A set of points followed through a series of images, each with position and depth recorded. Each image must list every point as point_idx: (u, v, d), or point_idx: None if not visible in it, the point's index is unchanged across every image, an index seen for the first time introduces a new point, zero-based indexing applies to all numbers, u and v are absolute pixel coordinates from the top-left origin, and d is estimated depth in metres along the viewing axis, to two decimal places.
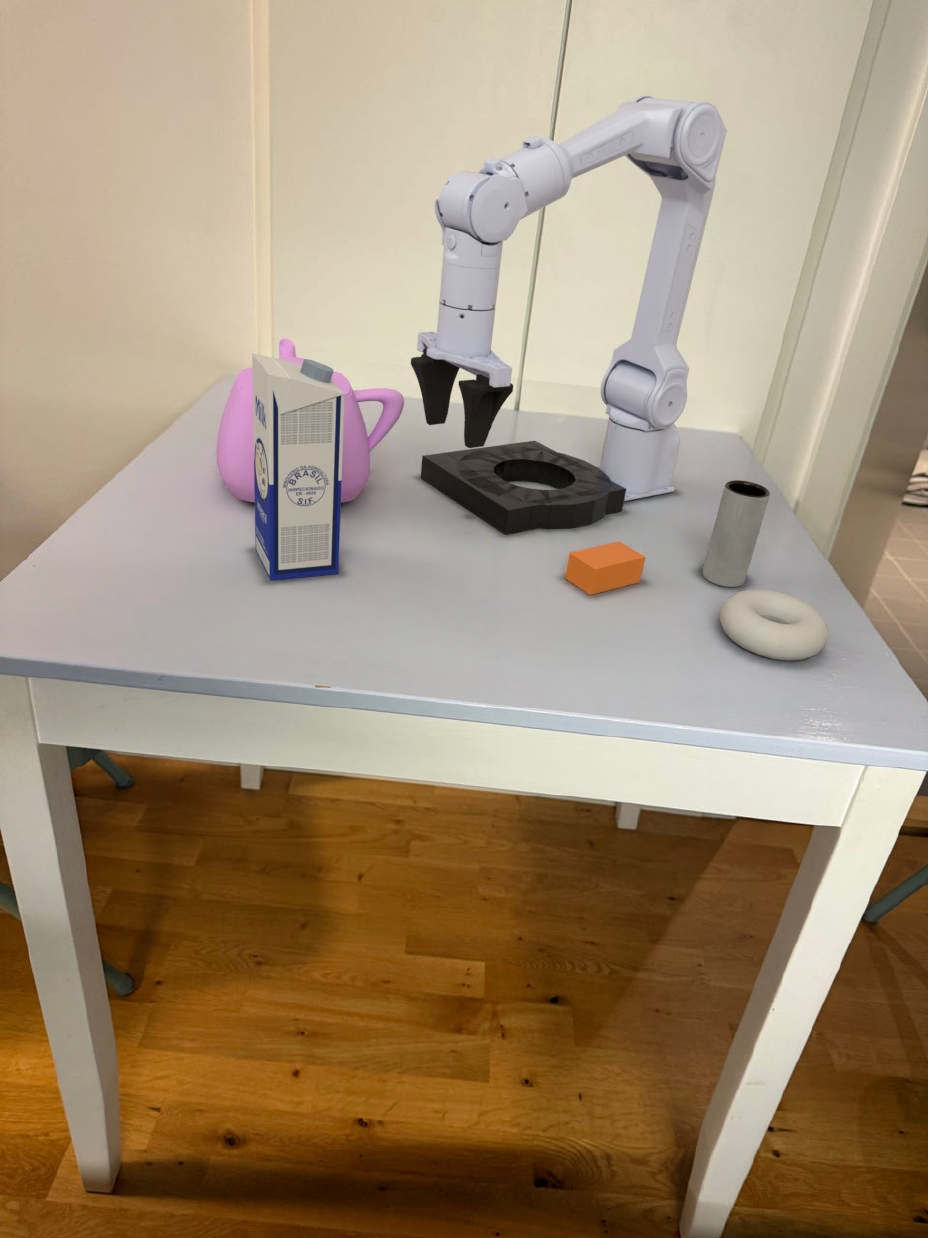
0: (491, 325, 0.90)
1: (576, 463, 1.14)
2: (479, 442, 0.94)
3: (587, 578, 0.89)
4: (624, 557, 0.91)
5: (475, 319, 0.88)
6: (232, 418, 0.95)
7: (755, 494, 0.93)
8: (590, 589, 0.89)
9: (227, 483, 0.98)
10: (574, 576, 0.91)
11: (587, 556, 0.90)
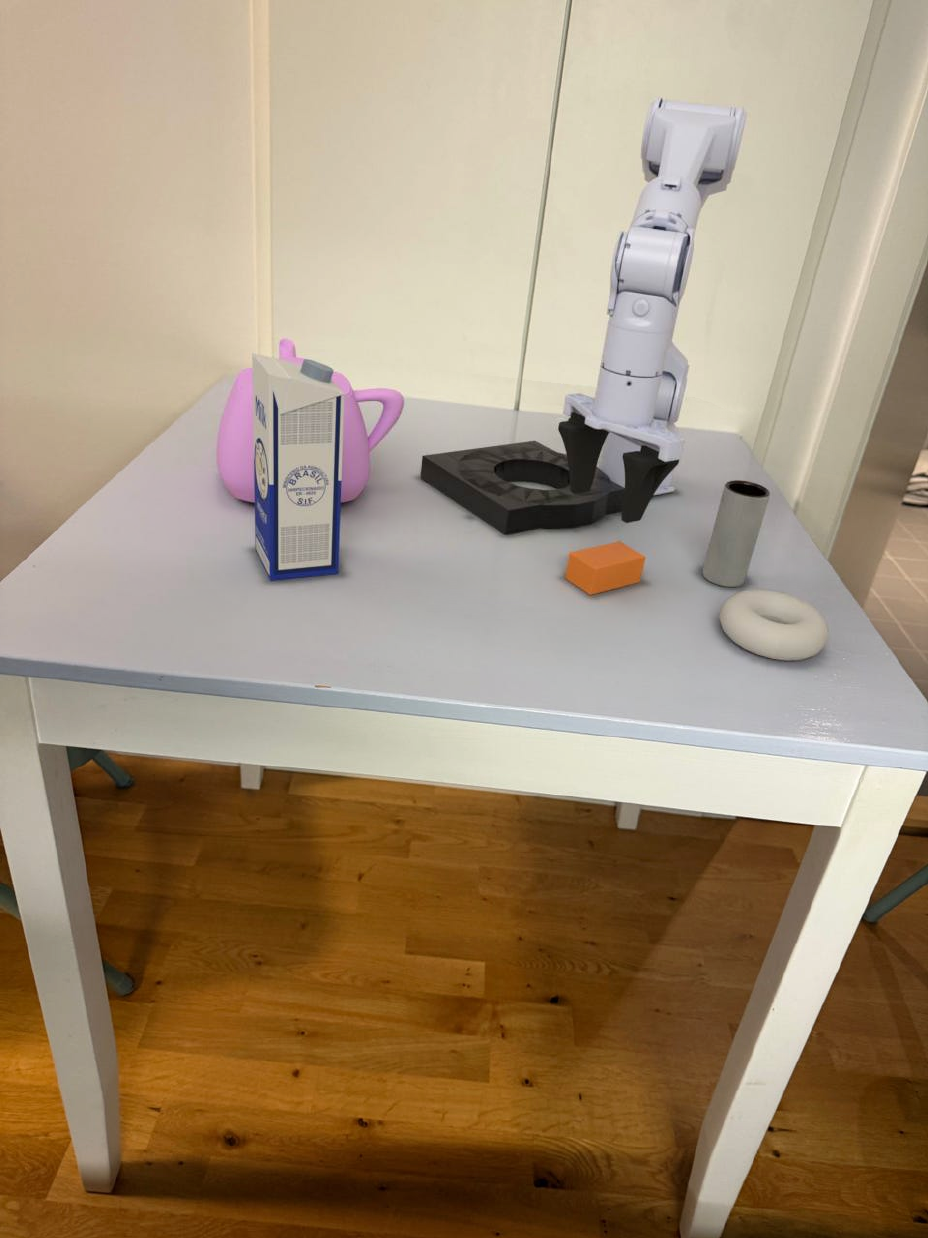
0: (657, 392, 0.82)
1: None
2: (637, 516, 0.86)
3: (587, 578, 0.89)
4: (624, 557, 0.91)
5: (643, 387, 0.81)
6: (232, 418, 0.95)
7: (755, 494, 0.93)
8: (590, 589, 0.89)
9: (227, 483, 0.98)
10: (574, 576, 0.91)
11: (587, 556, 0.90)
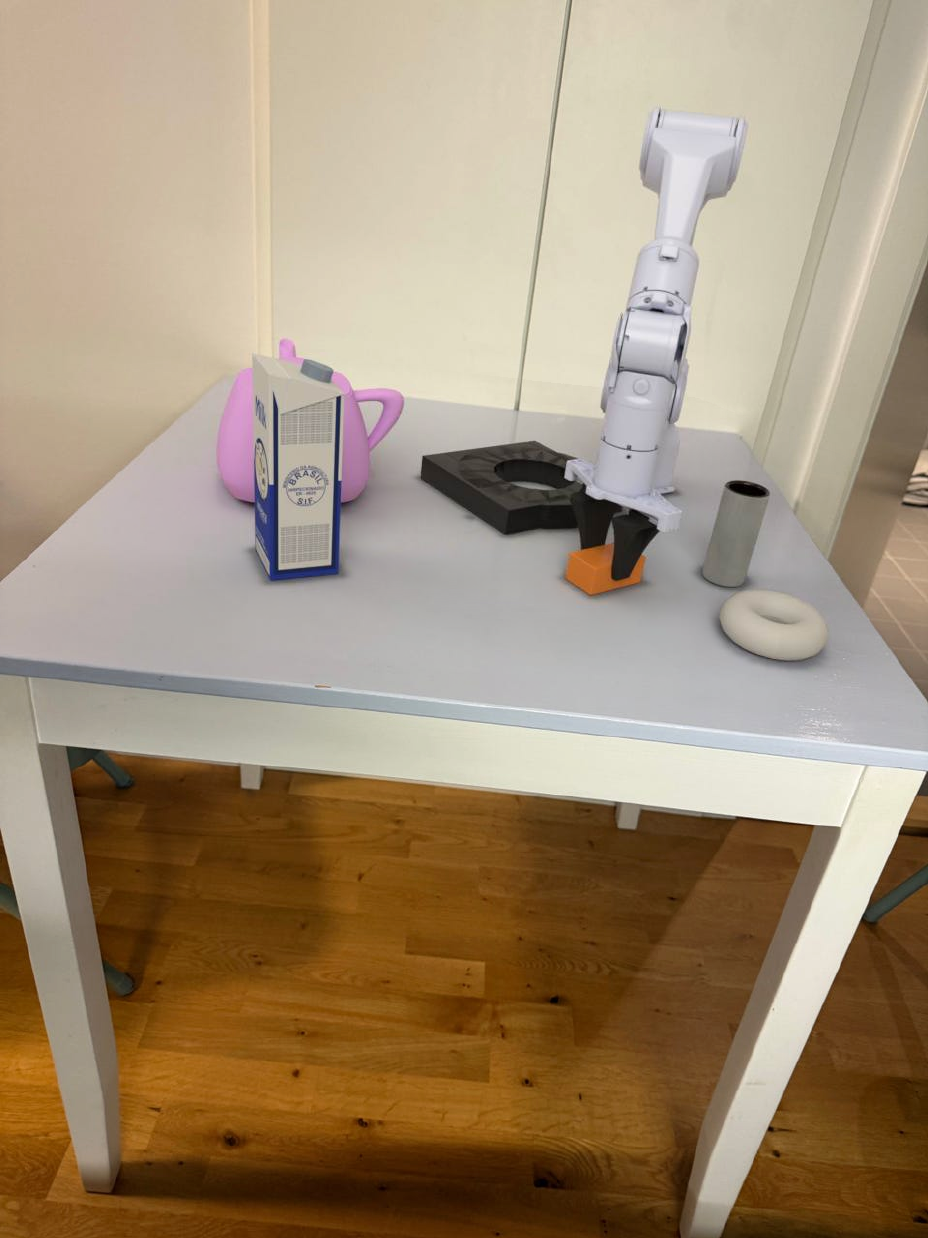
0: (656, 463, 0.85)
1: None
2: (625, 574, 0.90)
3: (588, 578, 0.89)
4: None
5: (642, 460, 0.83)
6: (232, 418, 0.95)
7: (755, 494, 0.93)
8: (590, 589, 0.89)
9: (227, 483, 0.98)
10: (574, 576, 0.91)
11: (587, 556, 0.90)
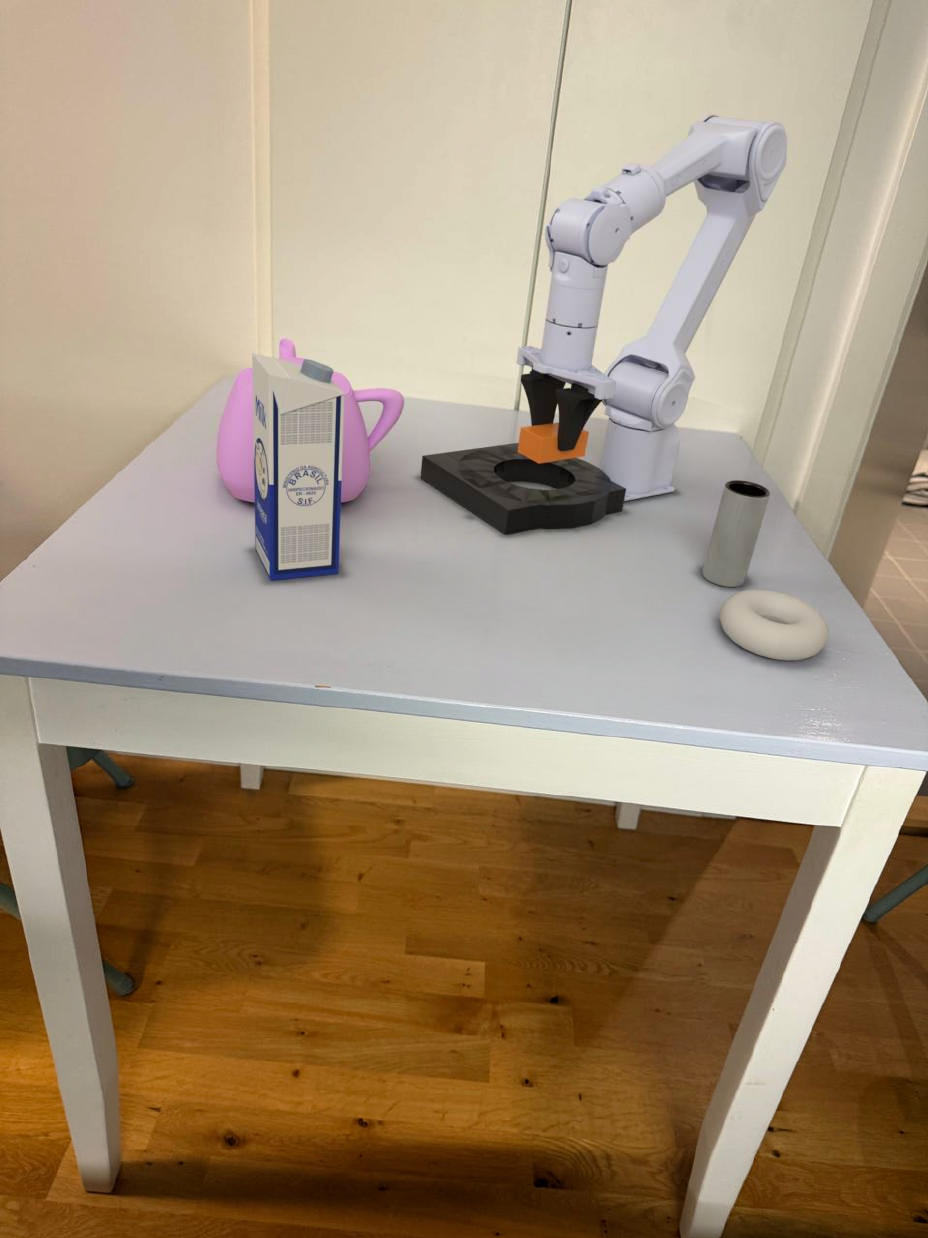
0: (594, 341, 0.97)
1: (576, 463, 1.14)
2: (570, 445, 1.02)
3: (536, 448, 1.01)
4: None
5: (581, 336, 0.95)
6: (232, 418, 0.95)
7: (755, 494, 0.93)
8: (539, 458, 1.01)
9: (227, 483, 0.98)
10: (525, 448, 1.02)
11: (536, 430, 1.02)
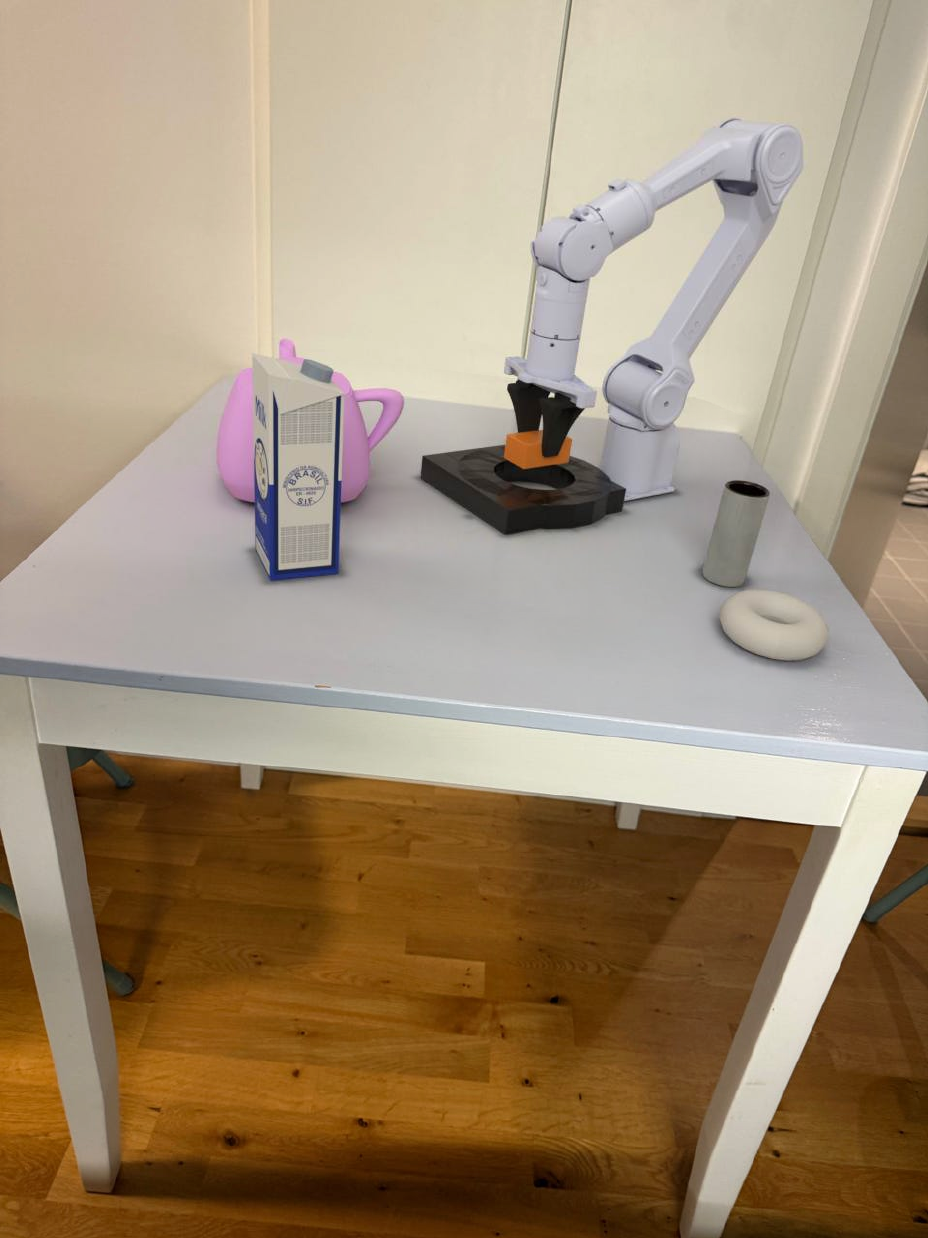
0: (576, 352, 1.01)
1: (576, 463, 1.14)
2: (554, 452, 1.06)
3: (521, 454, 1.05)
4: None
5: (564, 347, 0.99)
6: (232, 418, 0.95)
7: (755, 494, 0.93)
8: (523, 463, 1.05)
9: (227, 483, 0.98)
10: (511, 454, 1.07)
11: (521, 437, 1.06)
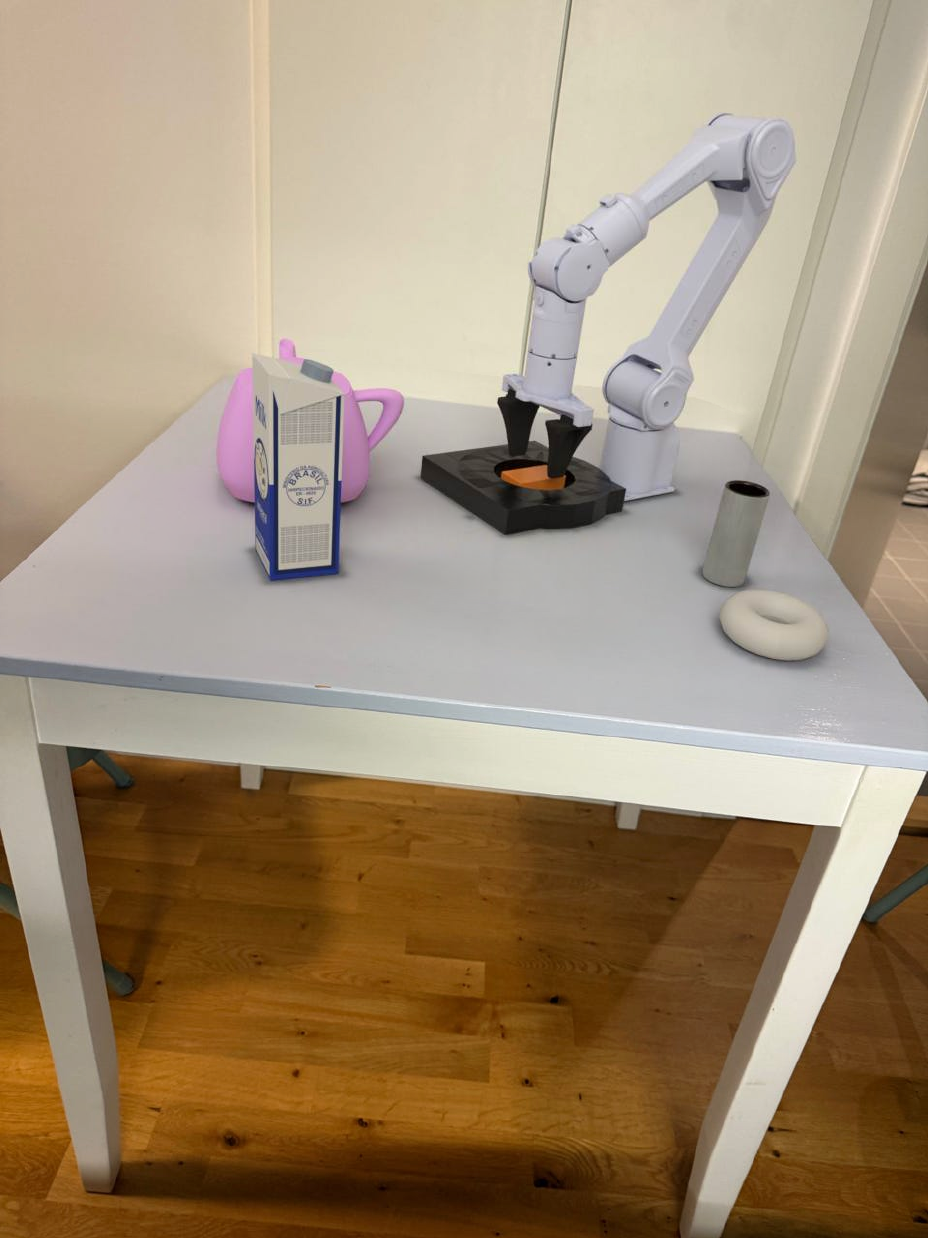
0: (573, 371, 1.02)
1: (576, 463, 1.14)
2: (560, 473, 1.06)
3: None
4: (547, 476, 1.09)
5: (561, 366, 1.00)
6: (232, 418, 0.95)
7: (755, 494, 0.93)
8: None
9: (227, 483, 0.98)
10: None
11: (516, 474, 1.08)
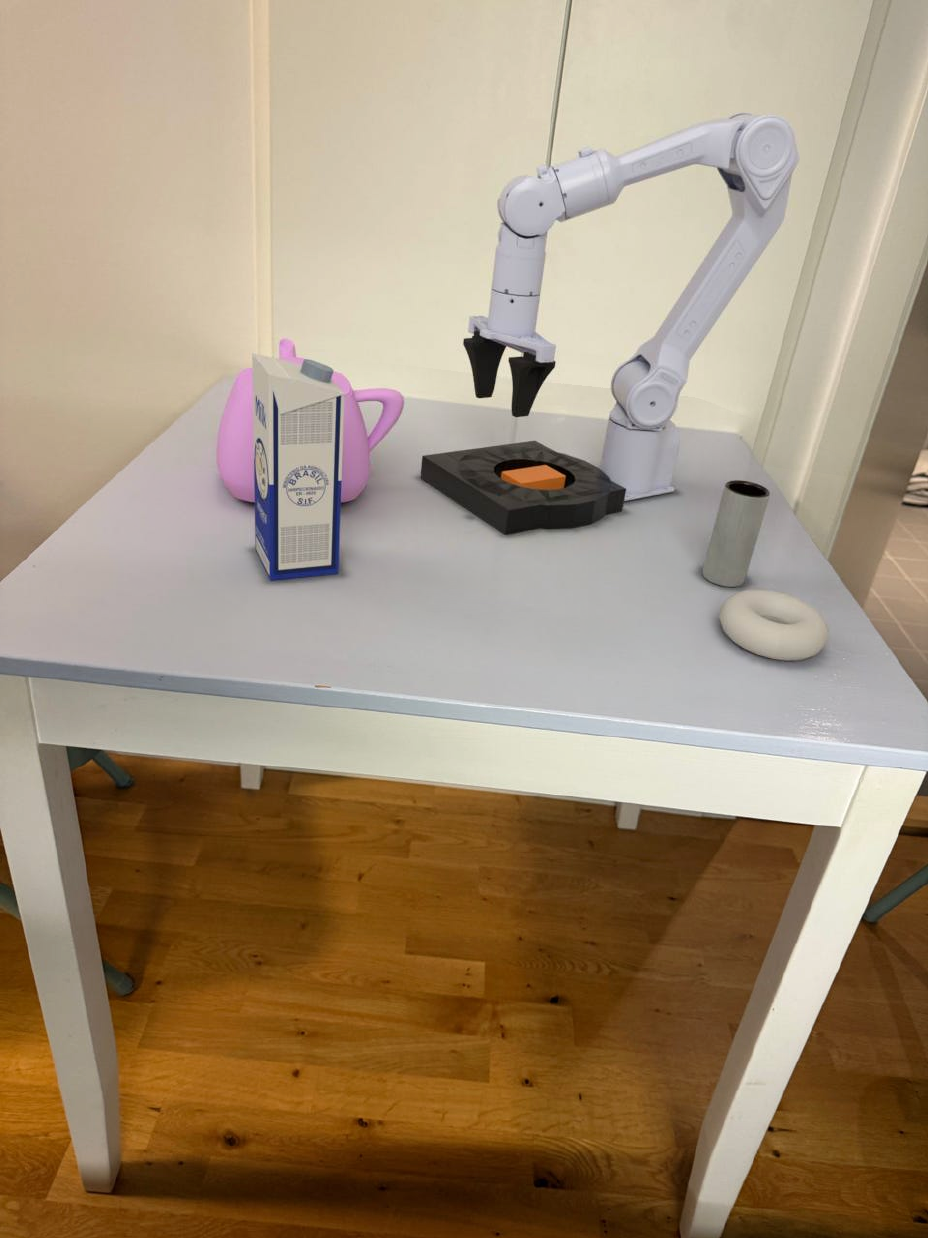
0: (536, 309, 1.03)
1: (576, 463, 1.14)
2: (524, 412, 1.07)
3: None
4: (547, 476, 1.09)
5: (523, 303, 1.02)
6: (232, 418, 0.95)
7: (755, 494, 0.93)
8: None
9: (227, 483, 0.98)
10: None
11: (516, 474, 1.08)
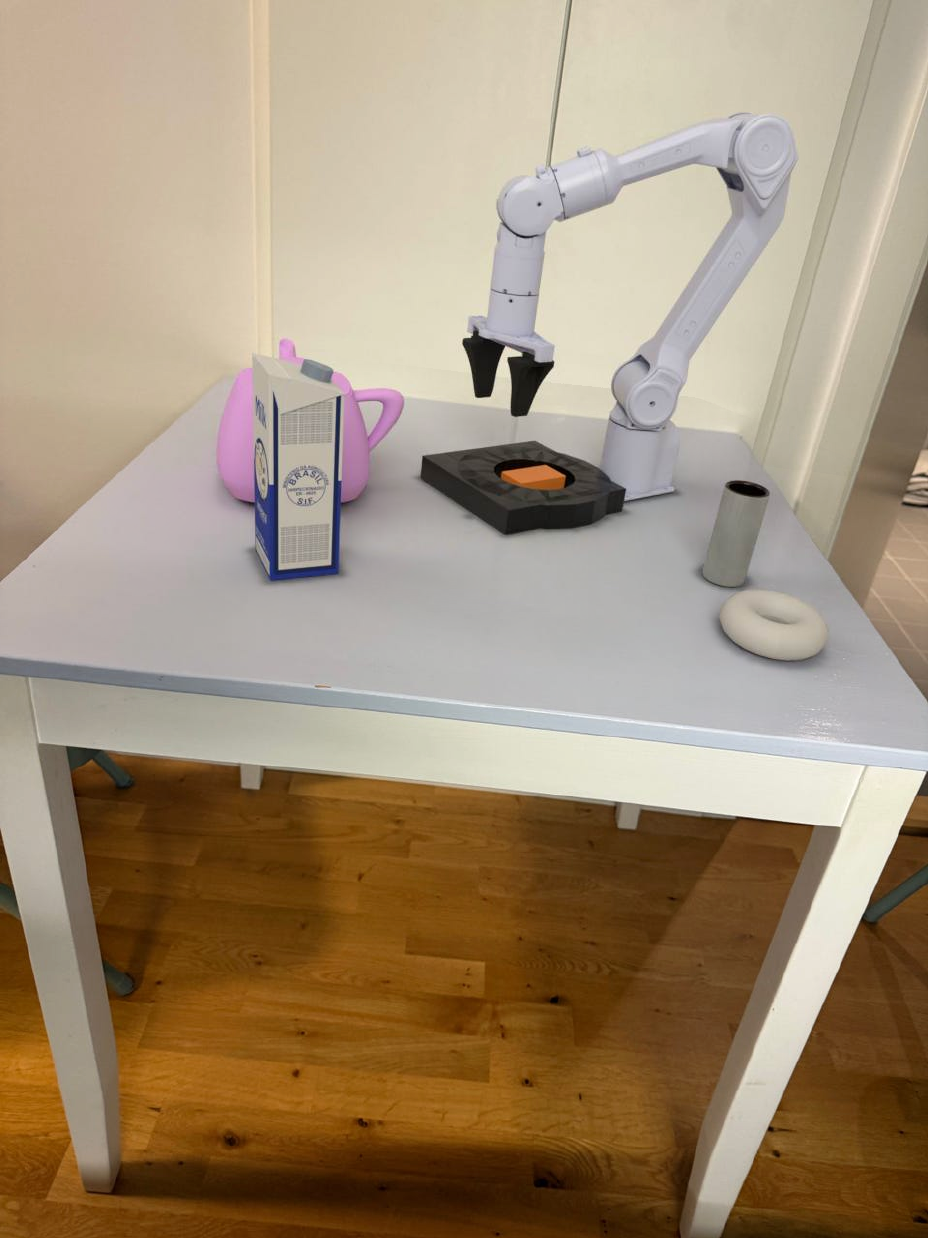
0: (535, 309, 1.04)
1: (576, 463, 1.14)
2: (523, 412, 1.07)
3: None
4: (547, 476, 1.09)
5: (522, 303, 1.02)
6: (232, 418, 0.95)
7: (755, 494, 0.93)
8: None
9: (227, 483, 0.98)
10: None
11: (516, 474, 1.08)
